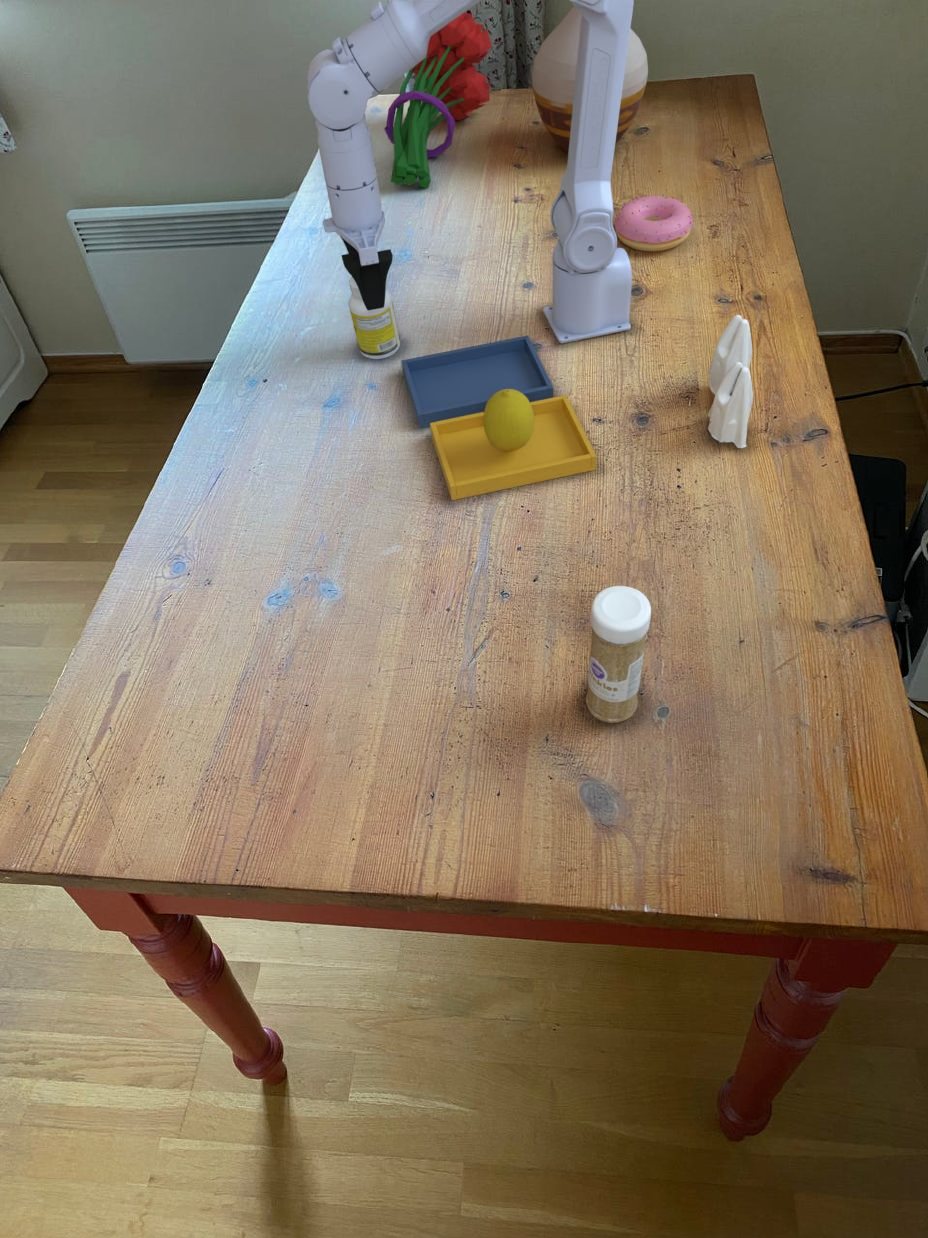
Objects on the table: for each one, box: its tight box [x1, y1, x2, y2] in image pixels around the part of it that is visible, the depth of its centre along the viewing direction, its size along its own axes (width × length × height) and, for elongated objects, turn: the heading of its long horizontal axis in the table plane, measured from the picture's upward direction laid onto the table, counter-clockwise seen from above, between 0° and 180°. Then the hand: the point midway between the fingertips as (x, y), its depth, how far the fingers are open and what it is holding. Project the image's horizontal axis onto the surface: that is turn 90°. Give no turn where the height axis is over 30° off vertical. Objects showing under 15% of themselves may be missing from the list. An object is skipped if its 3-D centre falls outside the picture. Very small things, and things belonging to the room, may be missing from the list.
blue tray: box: [400, 334, 554, 429], centre depth 107 cm, size 16×11×2 cm
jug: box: [531, 5, 649, 155], centre depth 134 cm, size 20×18×30 cm
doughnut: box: [613, 194, 694, 252], centre depth 125 cm, size 11×11×4 cm
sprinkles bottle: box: [585, 585, 652, 724], centre depth 73 cm, size 5×5×13 cm
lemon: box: [483, 389, 534, 451], centre depth 97 cm, size 6×6×8 cm
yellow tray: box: [429, 394, 597, 501], centre depth 99 cm, size 16×11×2 cm
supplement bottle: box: [348, 276, 401, 360], centre depth 111 cm, size 5×5×10 cm
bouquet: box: [384, 11, 493, 189], centre depth 144 cm, size 20×16×30 cm
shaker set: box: [707, 314, 754, 449], centre depth 97 cm, size 12×4×11 cm, turn 171°
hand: (370, 290), depth 108 cm, fingers open, 7 cm apart
